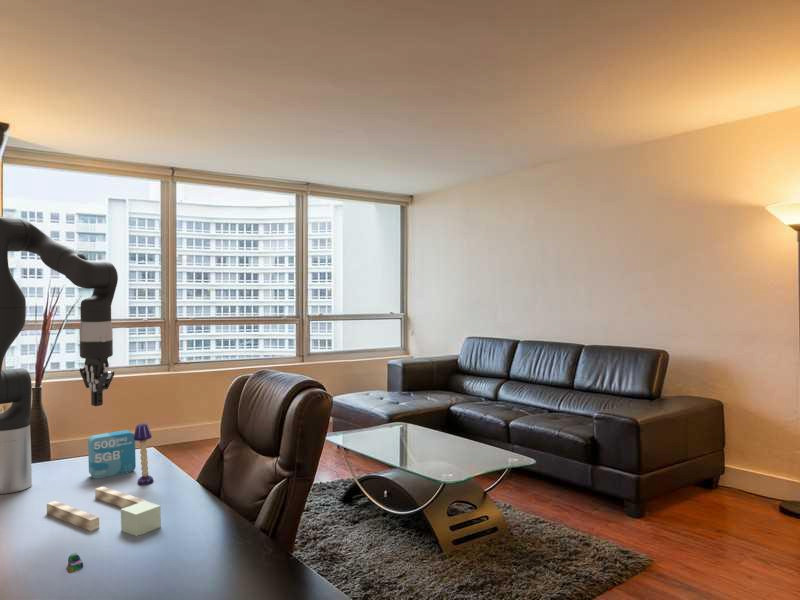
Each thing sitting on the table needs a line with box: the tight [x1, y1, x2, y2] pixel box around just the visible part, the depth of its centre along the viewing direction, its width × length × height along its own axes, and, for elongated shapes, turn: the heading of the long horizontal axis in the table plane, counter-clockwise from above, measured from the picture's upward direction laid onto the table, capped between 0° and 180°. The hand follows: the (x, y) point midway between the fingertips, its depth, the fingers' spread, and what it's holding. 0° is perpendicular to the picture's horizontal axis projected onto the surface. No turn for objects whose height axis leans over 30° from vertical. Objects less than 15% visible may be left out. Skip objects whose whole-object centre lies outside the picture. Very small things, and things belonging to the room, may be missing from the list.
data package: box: [87, 429, 137, 480], centre depth 172 cm, size 12×4×12 cm, turn 128°
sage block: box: [120, 500, 162, 537], centre depth 131 cm, size 6×6×5 cm
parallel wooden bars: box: [46, 486, 148, 532], centre depth 142 cm, size 20×14×2 cm
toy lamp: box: [133, 423, 154, 486], centre depth 163 cm, size 5×5×17 cm
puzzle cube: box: [65, 552, 84, 574], centre depth 113 cm, size 4×3×2 cm, turn 41°
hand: (97, 405), depth 148 cm, fingers closed
